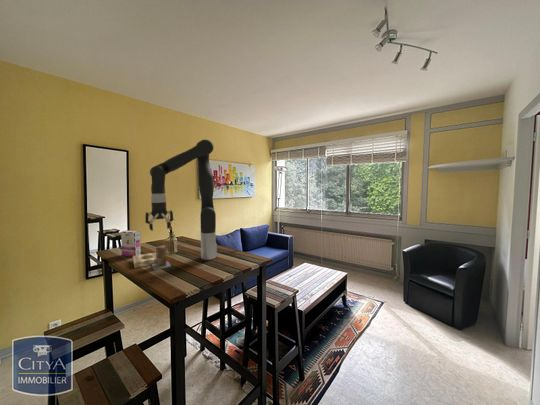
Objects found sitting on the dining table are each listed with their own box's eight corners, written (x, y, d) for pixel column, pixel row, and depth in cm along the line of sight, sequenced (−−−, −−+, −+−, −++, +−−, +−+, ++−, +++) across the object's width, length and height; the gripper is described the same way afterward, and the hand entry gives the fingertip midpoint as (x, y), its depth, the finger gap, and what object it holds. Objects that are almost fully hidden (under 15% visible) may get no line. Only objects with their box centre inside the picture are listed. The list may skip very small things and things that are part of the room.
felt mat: (168, 262, 137) (168, 261, 137) (171, 266, 129) (171, 265, 129) (151, 265, 131) (151, 264, 131) (153, 270, 124) (153, 269, 124)
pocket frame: (157, 256, 146) (157, 252, 146) (161, 263, 135) (161, 258, 135) (132, 260, 138) (132, 255, 138) (134, 267, 127) (134, 262, 127)
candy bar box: (141, 255, 149) (140, 231, 147) (135, 257, 144) (134, 232, 142) (127, 253, 151) (126, 229, 150) (121, 255, 147) (120, 231, 145)
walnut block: (164, 263, 134) (164, 245, 132) (166, 265, 130) (165, 247, 129) (156, 264, 131) (155, 246, 130) (157, 267, 127) (157, 248, 126)
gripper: (170, 200, 134) (171, 226, 135) (143, 201, 126) (145, 229, 127) (173, 201, 128) (174, 229, 129) (145, 202, 119) (146, 232, 121)
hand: (160, 229), depth 128 cm, fingers open, 8 cm apart
